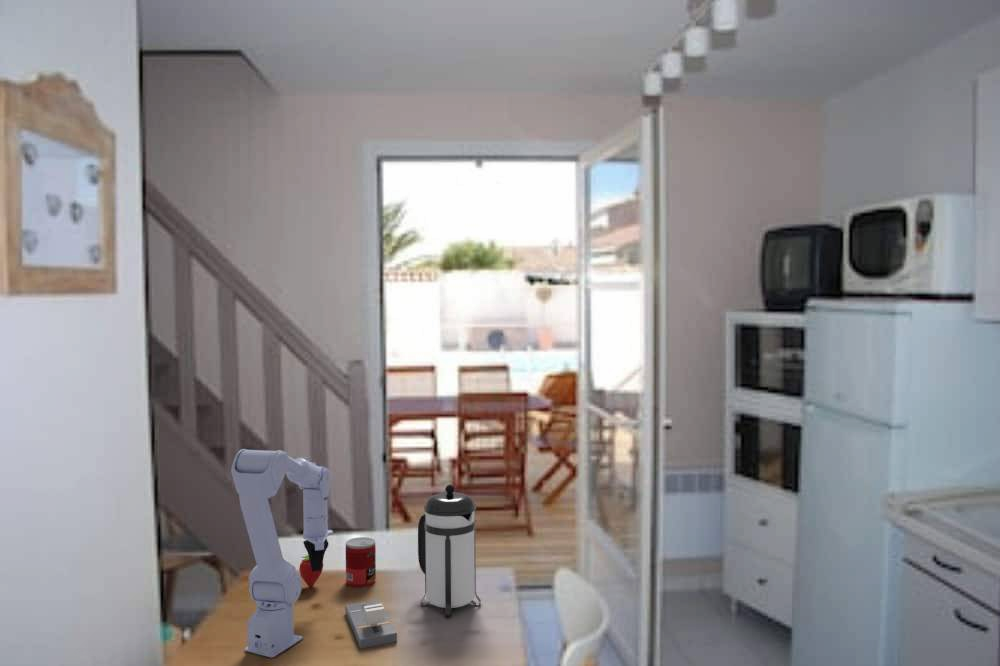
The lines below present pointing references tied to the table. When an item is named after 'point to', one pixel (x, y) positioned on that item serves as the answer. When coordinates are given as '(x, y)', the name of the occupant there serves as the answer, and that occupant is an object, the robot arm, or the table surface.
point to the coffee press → (448, 550)
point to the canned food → (360, 562)
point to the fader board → (369, 626)
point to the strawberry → (309, 572)
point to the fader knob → (373, 614)
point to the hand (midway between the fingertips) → (316, 570)
